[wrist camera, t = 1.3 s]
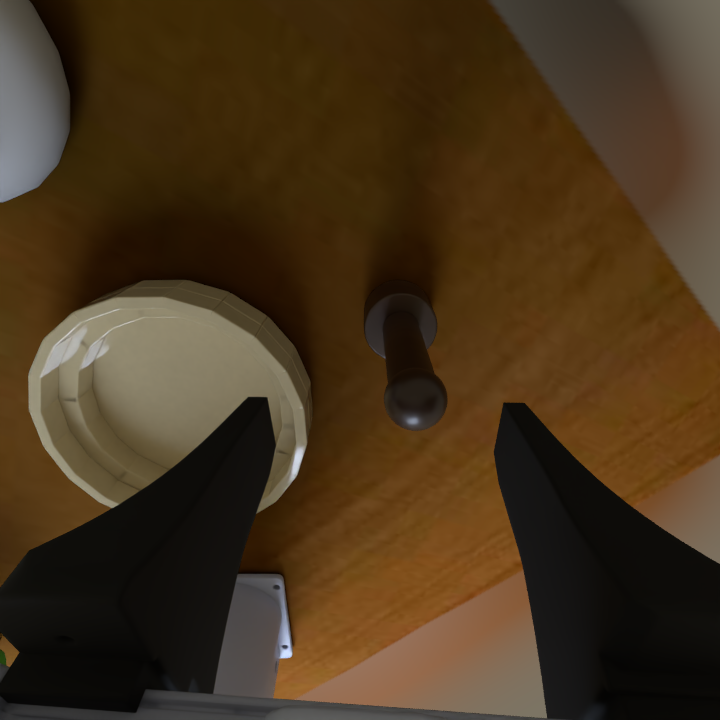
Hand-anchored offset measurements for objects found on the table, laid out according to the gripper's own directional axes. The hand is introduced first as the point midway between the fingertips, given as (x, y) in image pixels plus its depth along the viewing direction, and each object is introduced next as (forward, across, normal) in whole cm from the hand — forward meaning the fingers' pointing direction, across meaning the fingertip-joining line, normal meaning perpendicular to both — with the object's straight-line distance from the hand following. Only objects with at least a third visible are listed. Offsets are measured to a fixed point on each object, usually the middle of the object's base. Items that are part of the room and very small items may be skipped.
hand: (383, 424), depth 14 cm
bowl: (+10, +12, +7) cm, 16 cm away
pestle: (+11, 0, +2) cm, 11 cm away
